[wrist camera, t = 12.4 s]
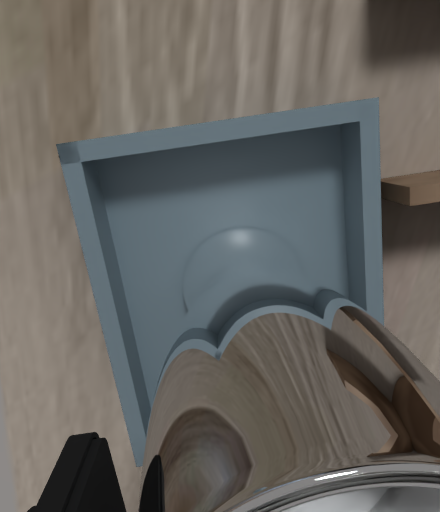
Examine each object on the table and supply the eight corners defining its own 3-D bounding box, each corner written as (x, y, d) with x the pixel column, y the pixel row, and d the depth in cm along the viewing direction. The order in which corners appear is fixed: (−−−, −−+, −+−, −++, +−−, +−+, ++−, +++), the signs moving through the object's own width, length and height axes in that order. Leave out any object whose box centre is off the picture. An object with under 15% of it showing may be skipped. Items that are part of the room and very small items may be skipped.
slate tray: (350, 105, 18) (378, 97, 16) (362, 391, 23) (386, 427, 20) (78, 144, 18) (56, 144, 15) (144, 426, 23) (136, 466, 20)
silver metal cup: (178, 349, 21) (132, 829, 6) (169, 220, 19) (74, 475, 4) (308, 342, 21) (554, 783, 6) (312, 214, 19) (678, 434, 5)
